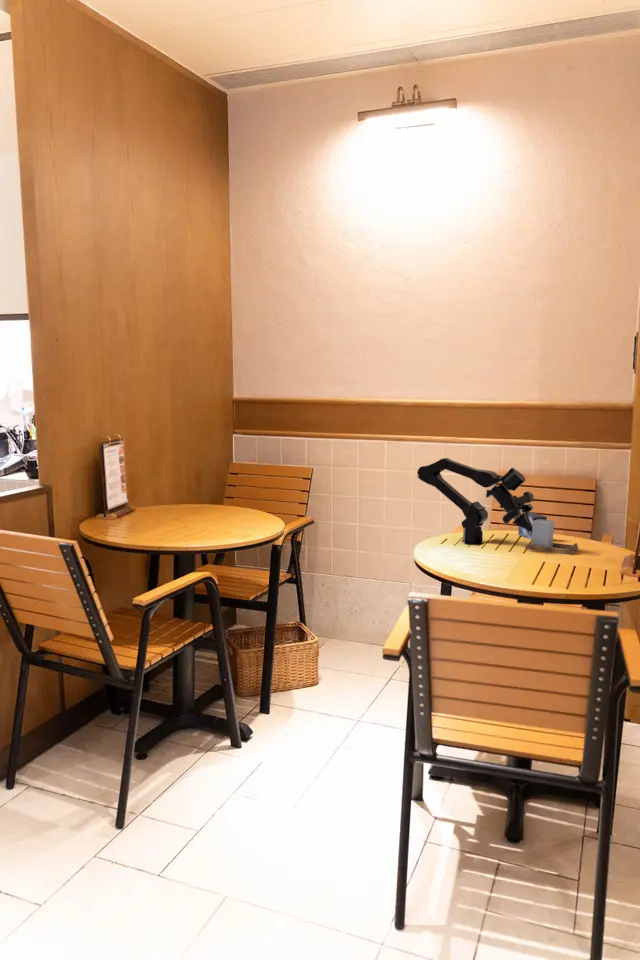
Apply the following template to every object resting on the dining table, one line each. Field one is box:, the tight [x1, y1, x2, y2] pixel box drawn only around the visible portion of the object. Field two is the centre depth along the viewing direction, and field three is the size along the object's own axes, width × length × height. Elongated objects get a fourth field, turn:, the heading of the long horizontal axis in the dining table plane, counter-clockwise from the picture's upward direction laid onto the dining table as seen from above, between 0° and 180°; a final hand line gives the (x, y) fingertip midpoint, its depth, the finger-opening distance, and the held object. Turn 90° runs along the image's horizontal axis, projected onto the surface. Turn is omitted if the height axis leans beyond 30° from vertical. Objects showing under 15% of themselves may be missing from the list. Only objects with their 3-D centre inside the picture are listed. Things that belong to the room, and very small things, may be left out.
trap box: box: [524, 542, 579, 556], centre depth 281 cm, size 16×10×4 cm, turn 57°
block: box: [530, 519, 555, 547], centre depth 282 cm, size 6×6×10 cm
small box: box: [518, 511, 548, 540], centre depth 304 cm, size 11×6×10 cm, turn 17°
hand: (533, 531), depth 284 cm, fingers closed
